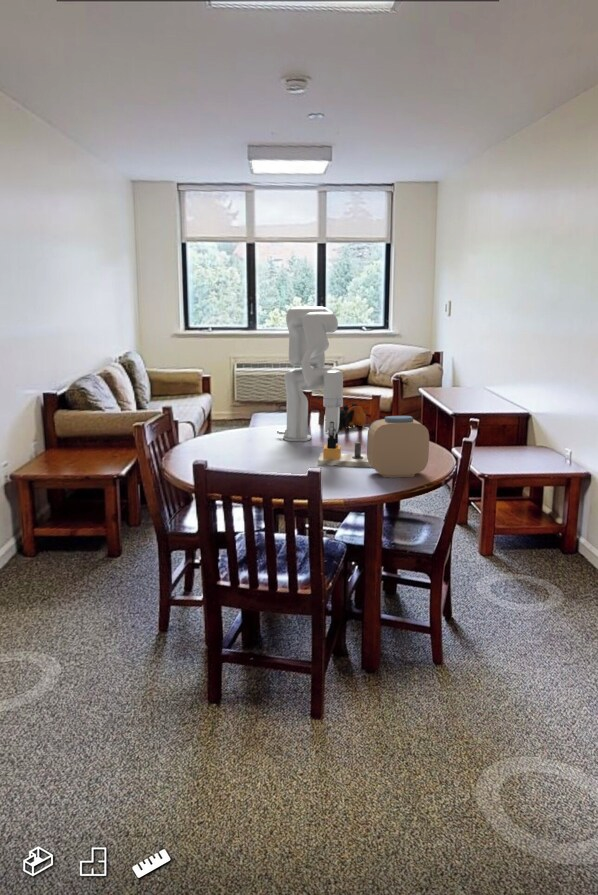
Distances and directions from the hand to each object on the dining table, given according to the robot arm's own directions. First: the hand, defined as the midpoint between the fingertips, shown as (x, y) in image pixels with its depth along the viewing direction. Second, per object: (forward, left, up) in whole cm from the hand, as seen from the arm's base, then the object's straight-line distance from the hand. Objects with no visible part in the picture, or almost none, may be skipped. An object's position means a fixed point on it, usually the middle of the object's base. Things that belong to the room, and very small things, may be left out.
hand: (332, 445), depth 268 cm
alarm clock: (+25, -15, -7) cm, 30 cm away
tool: (+1, +64, -7) cm, 65 cm away
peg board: (+6, 0, -7) cm, 9 cm away
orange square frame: (0, 0, -5) cm, 5 cm away
